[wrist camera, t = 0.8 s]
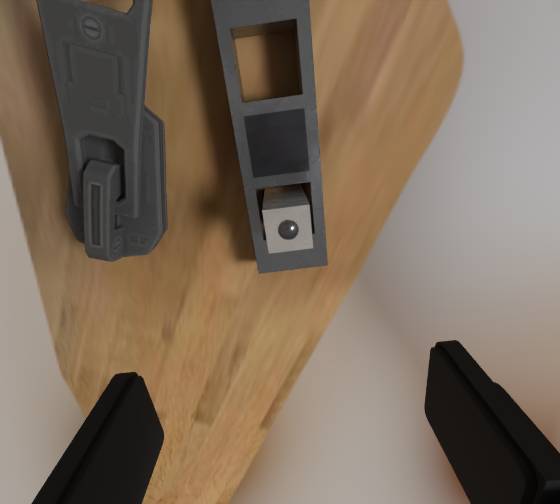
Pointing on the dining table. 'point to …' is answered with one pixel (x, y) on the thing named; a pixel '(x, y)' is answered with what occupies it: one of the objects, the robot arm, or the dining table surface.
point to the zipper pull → (107, 125)
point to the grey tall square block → (287, 219)
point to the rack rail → (274, 123)
